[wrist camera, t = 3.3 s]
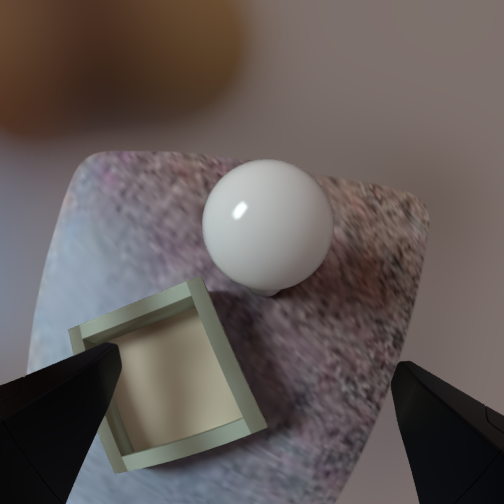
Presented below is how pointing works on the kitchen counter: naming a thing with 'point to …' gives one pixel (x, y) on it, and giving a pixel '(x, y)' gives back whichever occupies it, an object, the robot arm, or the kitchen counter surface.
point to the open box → (170, 379)
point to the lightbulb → (268, 225)
